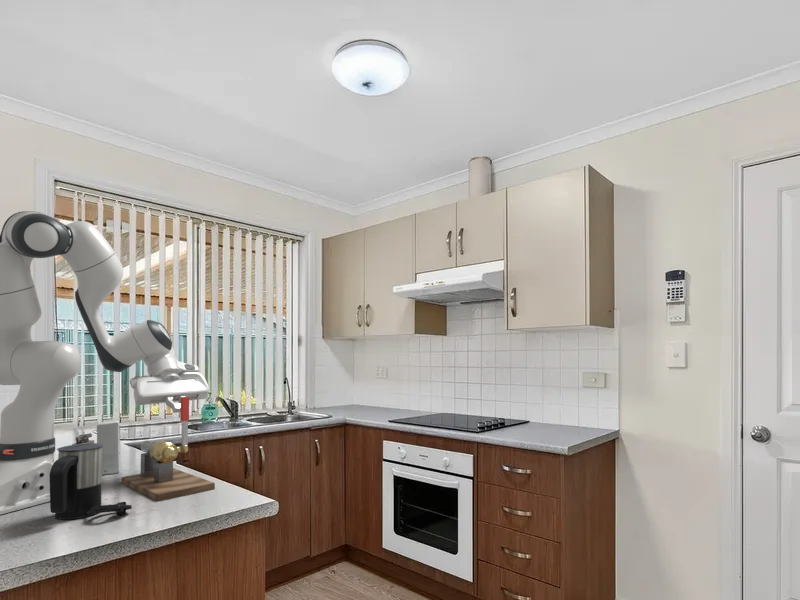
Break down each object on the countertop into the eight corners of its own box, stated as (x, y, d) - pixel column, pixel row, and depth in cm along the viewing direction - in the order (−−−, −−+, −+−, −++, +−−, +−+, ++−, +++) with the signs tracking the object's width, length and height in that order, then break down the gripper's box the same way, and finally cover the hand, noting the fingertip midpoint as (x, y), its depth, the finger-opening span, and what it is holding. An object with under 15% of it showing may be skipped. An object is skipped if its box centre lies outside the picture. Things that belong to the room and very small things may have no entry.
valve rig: (121, 482, 146) (121, 439, 147) (172, 473, 156) (173, 432, 157) (158, 501, 127) (158, 451, 128) (214, 488, 137) (214, 442, 138)
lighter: (78, 469, 165) (78, 436, 166) (68, 469, 166) (69, 436, 167) (96, 463, 173) (97, 432, 174) (87, 463, 174) (88, 432, 175)
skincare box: (119, 473, 158) (119, 422, 159) (95, 476, 155) (96, 424, 157) (119, 468, 165) (120, 419, 167) (97, 470, 163) (98, 421, 164)
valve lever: (179, 452, 146) (180, 397, 147) (186, 451, 147) (186, 396, 148) (183, 453, 144) (183, 397, 145) (189, 452, 145) (189, 397, 147)
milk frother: (60, 510, 122) (62, 444, 123) (137, 502, 127) (137, 438, 129) (42, 530, 109) (44, 455, 110) (129, 519, 114) (130, 448, 115)
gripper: (131, 369, 148) (143, 407, 140) (203, 365, 162) (217, 399, 155) (125, 384, 151) (137, 422, 143) (196, 380, 165) (210, 414, 157)
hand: (179, 410), depth 149 cm, fingers closed
